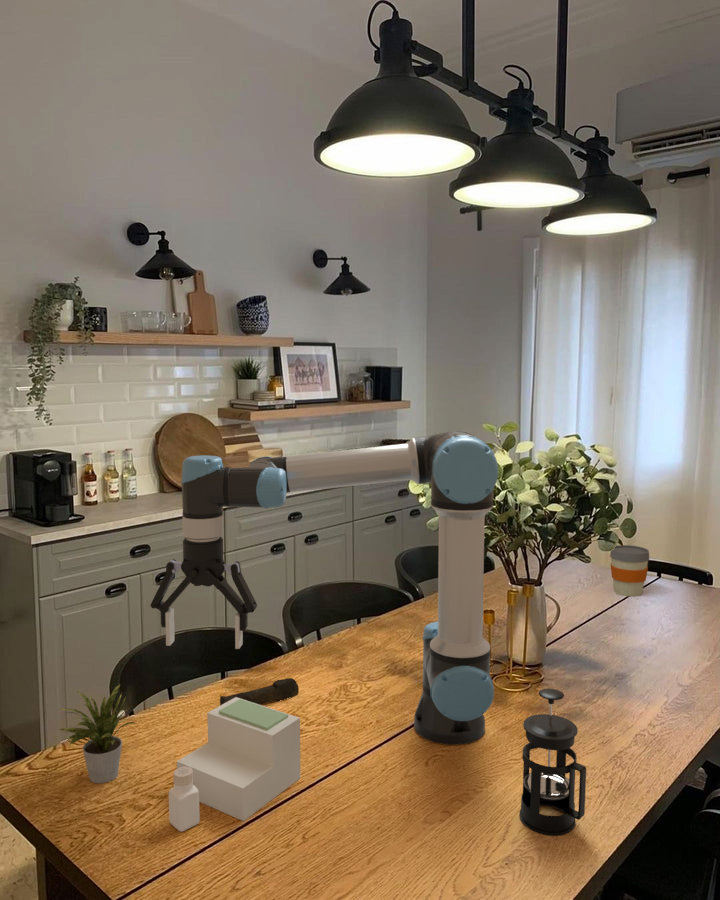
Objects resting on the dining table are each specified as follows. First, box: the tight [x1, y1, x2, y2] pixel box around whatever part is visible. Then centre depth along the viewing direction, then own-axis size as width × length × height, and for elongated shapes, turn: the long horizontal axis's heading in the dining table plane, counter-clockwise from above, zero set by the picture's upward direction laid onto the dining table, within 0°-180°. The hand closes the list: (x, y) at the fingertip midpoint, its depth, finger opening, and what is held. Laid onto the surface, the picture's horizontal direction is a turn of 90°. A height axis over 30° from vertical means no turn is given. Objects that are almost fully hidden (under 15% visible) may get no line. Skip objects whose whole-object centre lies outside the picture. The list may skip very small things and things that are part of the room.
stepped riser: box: [176, 697, 301, 822], centre depth 139 cm, size 16×16×12 cm
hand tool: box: [219, 677, 300, 706], centre depth 172 cm, size 19×4×5 cm, turn 118°
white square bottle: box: [168, 767, 201, 832], centre depth 127 cm, size 4×4×10 cm
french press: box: [519, 687, 587, 837], centre depth 128 cm, size 12×9×23 cm
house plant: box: [56, 683, 136, 784], centre depth 143 cm, size 14×14×16 cm
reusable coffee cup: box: [609, 544, 650, 598], centre depth 255 cm, size 13×12×15 cm
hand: (204, 644), depth 145 cm, fingers open, 13 cm apart
